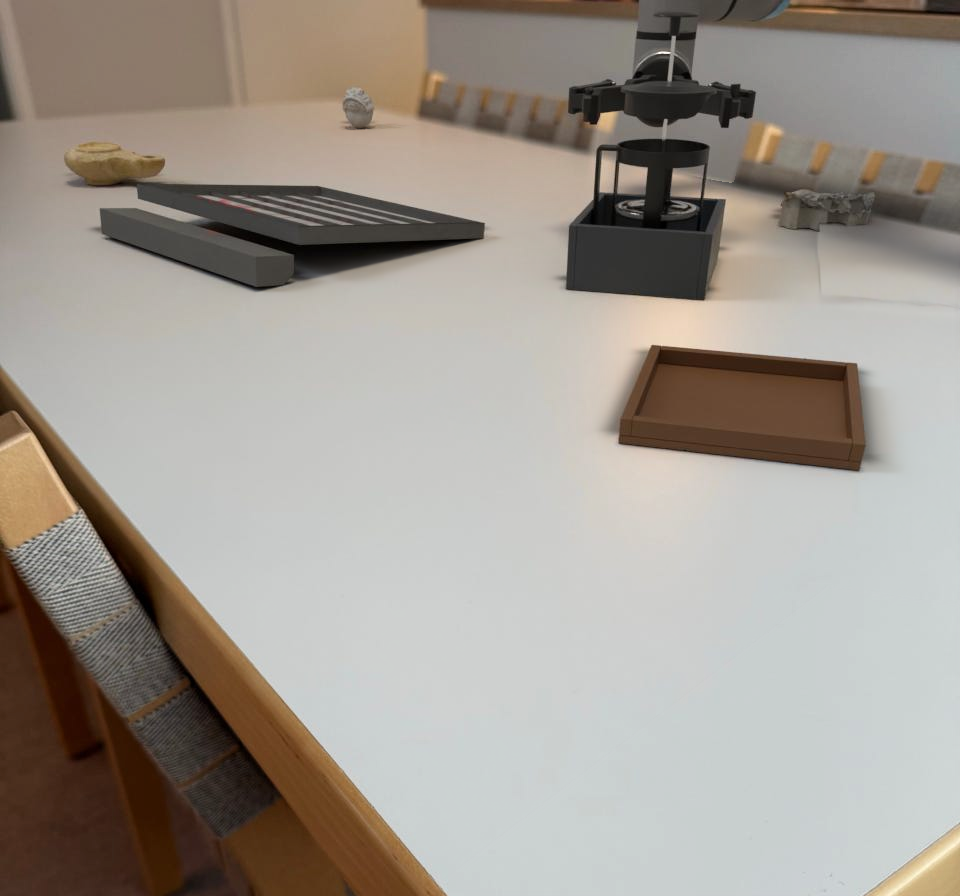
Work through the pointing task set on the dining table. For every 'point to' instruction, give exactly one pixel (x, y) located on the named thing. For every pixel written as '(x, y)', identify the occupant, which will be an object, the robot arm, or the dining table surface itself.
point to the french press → (659, 145)
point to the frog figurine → (358, 107)
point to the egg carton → (824, 209)
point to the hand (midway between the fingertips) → (659, 111)
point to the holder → (644, 251)
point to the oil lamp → (110, 163)
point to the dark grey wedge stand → (270, 225)
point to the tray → (747, 407)
